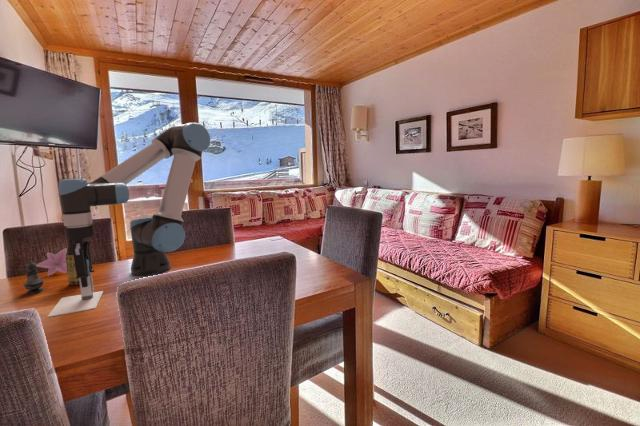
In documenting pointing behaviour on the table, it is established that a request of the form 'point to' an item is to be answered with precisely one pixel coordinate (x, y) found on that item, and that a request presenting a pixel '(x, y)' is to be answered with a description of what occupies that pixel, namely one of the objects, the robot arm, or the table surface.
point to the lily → (55, 262)
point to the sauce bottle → (71, 265)
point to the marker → (90, 283)
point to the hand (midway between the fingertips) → (87, 293)
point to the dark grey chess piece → (33, 279)
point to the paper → (75, 304)
